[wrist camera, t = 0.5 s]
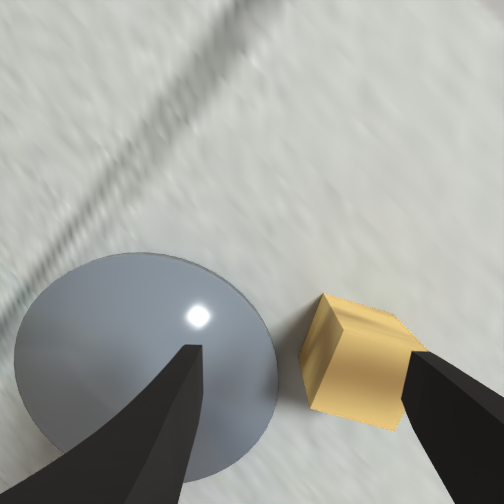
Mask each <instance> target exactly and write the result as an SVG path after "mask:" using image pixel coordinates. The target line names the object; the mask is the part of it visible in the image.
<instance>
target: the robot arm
mask: <svg viewBox="0 0 504 504" xmlns="http://www.w3.org/2000/svg"><path fill="white" fill-rule="evenodd" d="M203 393H204V391H203V347H202V345H193V344H185V345H183V346H182V347H181V348H180V350H179V351H178V352H177V353H176V354H175V356H174V357H173V358H172V359H171V360H170V361H169V363H168V364H167V365H166V366H165V367H164V368H163V369H162V370H161V371H160V373H159V374H158V375H157V376H156V377H155V378H154V379H153V380H152V381H151V382H150V383H149V384H148V385H147V386H146V387H145V388H144V389H143V390H142V391H141V392H140V393H139V394H138V395H137V396H136V397H135V398H134V399H133V400H132V401H131V402H130V403H129V404H128V405H127V406H125V407H124V408H123V409H122V410H121V411H120V412H119V413H118V414H116V415H115V416H114V417H113V418H112V419H111V420H109V421H108V422H107V423H106V424H104V425H103V426H102V427H101V428H100V429H98V430H97V431H96V432H94V433H93V434H92V435H90V436H89V437H88V438H86V439H85V440H83V441H82V442H81V443H79V444H78V445H76V446H75V447H74V448H72V449H71V450H69V451H68V452H67V453H65V454H64V455H63V456H61V457H60V458H58V459H57V460H55V461H53V462H52V463H50V464H49V465H47V466H46V467H44V468H43V469H41V470H40V471H38V472H36V473H35V474H33V475H31V476H30V477H28V478H27V479H25V480H23V481H22V482H20V483H18V484H17V485H15V486H13V487H12V488H10V489H8V490H6V491H5V492H3V493H1V494H0V504H178V500H179V496H180V492H181V488H182V485H183V481H184V477H185V473H186V470H187V466H188V462H189V459H190V455H191V451H192V447H193V444H194V440H195V436H196V432H197V428H198V425H199V419H200V413H201V407H202V400H203ZM401 401H402V403H403V406H404V408H405V411H406V414H407V416H408V418H409V421H410V423H411V425H412V428H413V430H414V432H415V433H416V435H417V437H418V439H419V441H420V443H421V444H422V446H423V448H424V450H425V452H426V453H427V455H428V457H429V459H430V460H431V462H432V464H433V466H434V468H435V469H436V471H437V473H438V475H439V476H440V478H441V480H442V482H443V483H444V485H445V487H446V489H447V491H448V492H449V494H450V496H451V498H452V499H453V501H454V503H455V504H504V397H502V396H501V395H499V394H497V393H496V392H494V391H493V390H491V389H489V388H488V387H486V386H485V385H483V384H481V383H480V382H478V381H477V380H475V379H474V378H472V377H470V376H469V375H467V374H466V373H464V372H463V371H461V370H459V369H458V368H456V367H455V366H453V365H452V364H450V363H448V362H447V361H445V360H443V359H442V358H440V357H438V356H437V355H435V354H433V353H431V352H429V351H411V355H410V360H409V364H408V369H407V373H406V378H405V382H404V387H403V391H402V396H401Z"/></svg>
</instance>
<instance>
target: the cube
mask: <svg viewBox="0 0 504 504" xmlns="http://www.w3.org/2000/svg"><path fill="white" fill-rule="evenodd" d="M411 351H428V350H427V349H426V348H425V347H424V346H423V345H422V344H421V342H420V341H419V340H418V339H417V338H416V337H415V336H414V335H413V334H412V333H411V332H410V331H409V330H408V329H407V328H406V327H405V326H404V325H403V324H402V323H401V322H400V321H399V320H398V318H397V317H396V316H395V315H394V314H391V313H388V312H385V311H381V310H378V309H375V308H371V307H368V306H365V305H361V304H358V303H355V302H351V301H348V300H345V299H341V298H338V297H335V296H331V295H328V294H325V293H323V295H322V298H321V300H320V303H319V305H318V308H317V310H316V313H315V315H314V318H313V320H312V323H311V325H310V328H309V330H308V333H307V335H306V338H305V340H304V343H303V345H302V348H301V350H300V353H299V355H298V358H299V363H300V367H301V371H302V376H303V380H304V384H305V389H306V393H307V397H308V402H309V406H310V409H313V410H317V411H321V412H324V413H328V414H332V415H335V416H339V417H343V418H346V419H350V420H354V421H358V422H361V423H365V424H369V425H372V426H376V427H380V428H383V429H387V430H391V431H395V429H396V427H397V425H398V424H399V422H400V420H401V418H402V416H403V414H404V412H405V408H404V406H403V403H402V401H401V396H402V391H403V387H404V382H405V378H406V373H407V369H408V364H409V360H410V355H411Z"/></svg>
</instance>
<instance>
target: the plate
mask: <svg viewBox="0 0 504 504" xmlns="http://www.w3.org/2000/svg"><path fill="white" fill-rule="evenodd" d="M185 344H193V345H202V347H203V391H204V393H203V400H202V407H201V413H200V419H199V425H198V428H197V432H196V436H195V440H194V444H193V447H192V451H191V455H190V459H189V462H188V466H187V470H186V473H185V477H184V481H183V483H186V482H191V481H195V480H199V479H202V478H205V477H208V476H211V475H213V474H215V473H217V472H219V471H221V470H223V469H225V468H227V467H229V466H230V465H232V464H233V463H235V462H236V461H238V460H239V459H240V458H241V457H243V456H244V455H245V454H246V453H247V452H248V451H249V450H250V449H251V448H252V447H253V446H254V445H255V444H256V443H257V442H258V440H259V439H260V437H261V436H262V434H263V433H264V431H265V430H266V428H267V426H268V424H269V422H270V420H271V418H272V415H273V412H274V408H275V405H276V401H277V394H278V367H277V360H276V354H275V349H274V346H273V342H272V339H271V336H270V334H269V332H268V330H267V327H266V325H265V323H264V321H263V320H262V318H261V317H260V315H259V314H258V312H257V311H256V309H255V308H254V306H253V305H252V304H251V303H250V302H249V301H248V300H247V298H246V297H245V296H244V295H243V294H242V293H241V292H240V291H238V290H237V289H236V288H235V287H234V286H233V285H232V284H231V283H229V282H228V281H226V280H225V279H223V278H222V277H220V276H219V275H217V274H216V273H214V272H212V271H210V270H208V269H206V268H204V267H202V266H200V265H198V264H195V263H193V262H190V261H187V260H184V259H181V258H177V257H173V256H169V255H164V254H155V253H123V254H117V255H110V256H107V257H103V258H100V259H96V260H93V261H91V262H88V263H86V264H84V265H82V266H80V267H77V268H76V269H74V270H72V271H70V272H68V273H67V274H65V275H64V276H62V277H61V278H59V279H57V280H56V281H54V282H53V283H52V284H51V285H50V286H49V287H47V288H46V289H45V290H44V291H43V292H42V293H41V294H40V295H39V296H38V298H37V299H36V300H35V301H34V302H33V304H32V305H31V306H30V308H29V310H28V311H27V313H26V315H25V317H24V318H23V321H22V323H21V326H20V328H19V331H18V334H17V339H16V344H15V350H14V369H15V378H16V382H17V386H18V390H19V393H20V396H21V398H22V400H23V403H24V405H25V407H26V409H27V411H28V413H29V414H30V416H31V418H32V420H33V421H34V422H35V424H36V425H37V426H38V428H39V429H40V430H41V432H42V433H43V434H44V435H45V436H46V437H47V438H48V439H49V440H50V441H51V442H52V443H53V444H54V445H55V446H56V447H57V448H58V449H60V450H61V451H62V452H63V453H64V454H65V453H67V452H68V451H69V450H71V449H72V448H74V447H75V446H76V445H78V444H79V443H81V442H82V441H83V440H85V439H86V438H88V437H89V436H90V435H92V434H93V433H94V432H96V431H97V430H98V429H100V428H101V427H102V426H103V425H104V424H106V423H107V422H108V421H109V420H111V419H112V418H113V417H114V416H115V415H116V414H118V413H119V412H120V411H121V410H122V409H123V408H124V407H125V406H127V405H128V404H129V403H130V402H131V401H132V400H133V399H134V398H135V397H136V396H137V395H138V394H139V393H140V392H141V391H142V390H143V389H144V388H145V387H146V386H147V385H148V384H149V383H150V382H151V381H152V380H153V379H154V378H155V377H156V376H157V375H158V374H159V373H160V371H161V370H162V369H163V368H164V367H165V366H166V365H167V364H168V363H169V361H170V360H171V359H172V358H173V357H174V356H175V354H176V353H177V352H178V351H179V350H180V348H181V347H182V346H183V345H185Z"/></svg>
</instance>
